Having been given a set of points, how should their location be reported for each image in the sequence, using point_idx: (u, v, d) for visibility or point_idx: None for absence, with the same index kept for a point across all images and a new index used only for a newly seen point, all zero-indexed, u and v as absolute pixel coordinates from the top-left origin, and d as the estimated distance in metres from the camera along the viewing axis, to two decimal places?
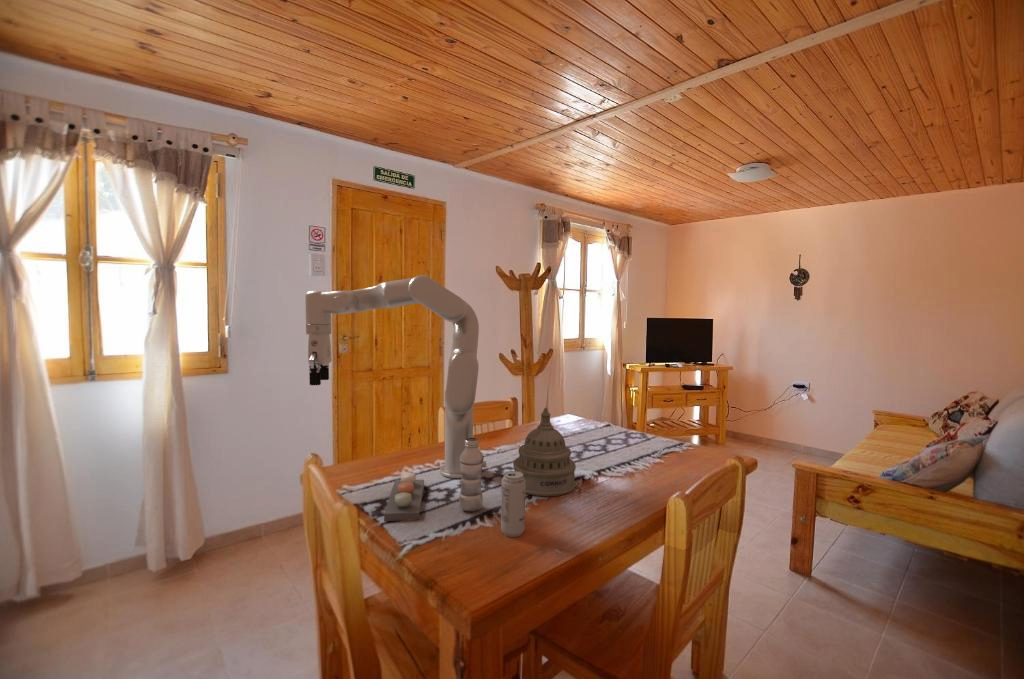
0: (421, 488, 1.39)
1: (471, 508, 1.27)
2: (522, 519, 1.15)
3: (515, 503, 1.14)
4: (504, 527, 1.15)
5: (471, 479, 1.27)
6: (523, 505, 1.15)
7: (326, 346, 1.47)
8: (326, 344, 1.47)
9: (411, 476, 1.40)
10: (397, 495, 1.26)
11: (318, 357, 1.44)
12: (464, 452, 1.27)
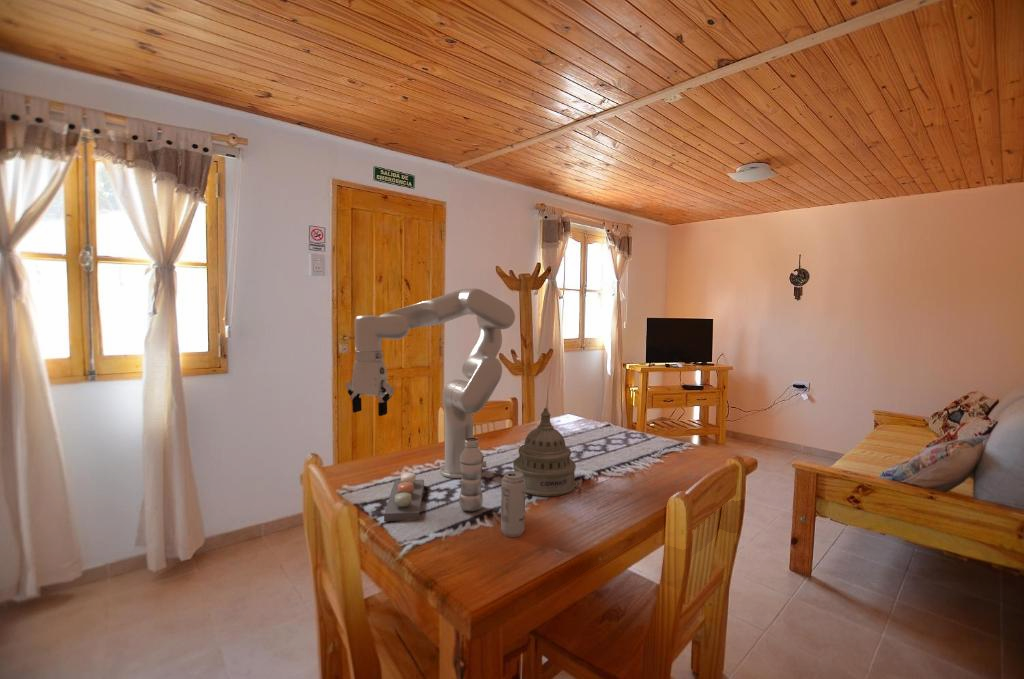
0: (421, 488, 1.39)
1: (471, 508, 1.27)
2: (522, 519, 1.15)
3: (515, 503, 1.14)
4: (504, 527, 1.15)
5: (471, 479, 1.27)
6: (523, 505, 1.15)
7: None
8: None
9: (411, 476, 1.40)
10: (397, 495, 1.26)
11: None
12: (464, 452, 1.27)
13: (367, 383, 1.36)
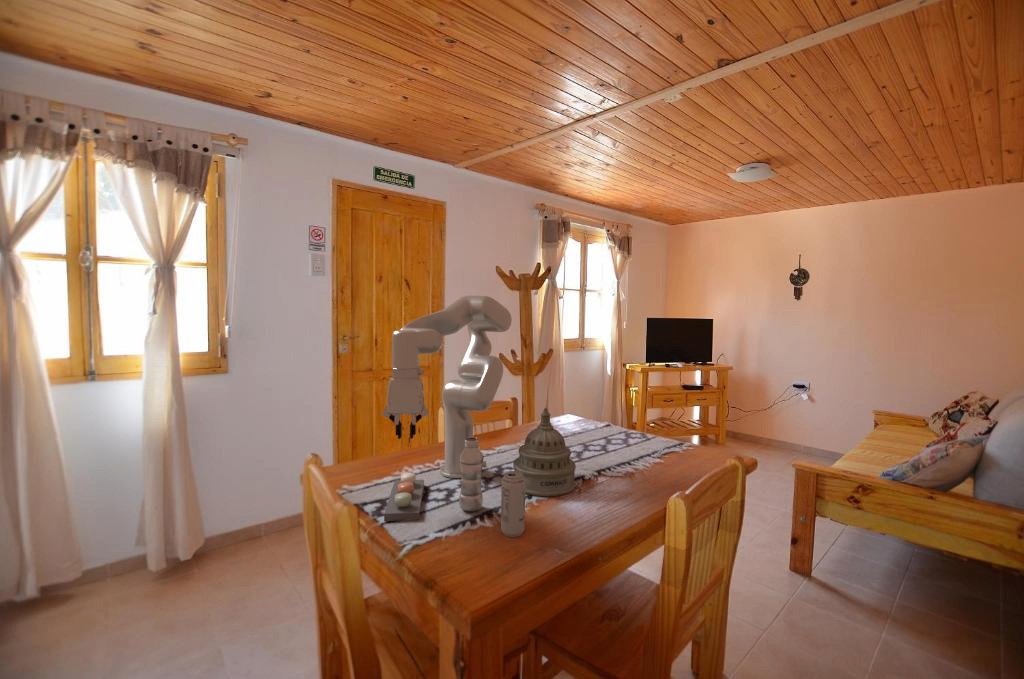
0: (421, 488, 1.39)
1: (471, 508, 1.27)
2: (522, 519, 1.15)
3: (515, 503, 1.14)
4: (504, 527, 1.15)
5: (471, 479, 1.27)
6: (523, 505, 1.15)
7: None
8: None
9: (411, 476, 1.40)
10: (397, 495, 1.26)
11: None
12: (464, 452, 1.27)
13: (410, 401, 1.29)
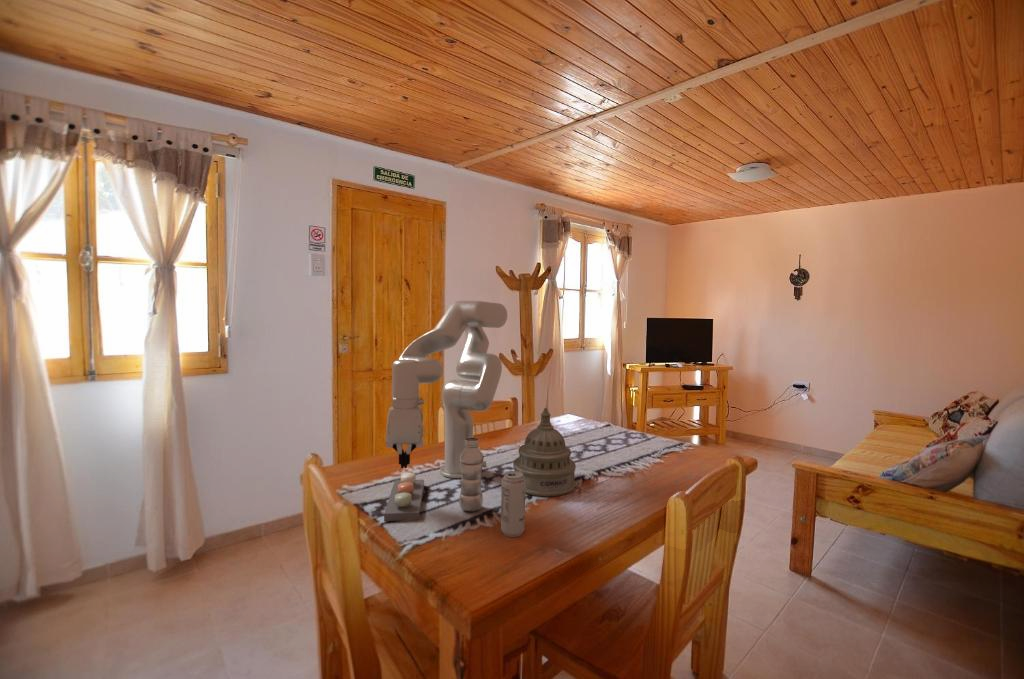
0: (421, 488, 1.39)
1: (471, 508, 1.27)
2: (522, 519, 1.15)
3: (515, 503, 1.14)
4: (504, 527, 1.15)
5: (471, 479, 1.27)
6: (523, 505, 1.15)
7: None
8: None
9: (411, 476, 1.40)
10: (397, 495, 1.26)
11: None
12: (464, 452, 1.27)
13: (409, 431, 1.30)
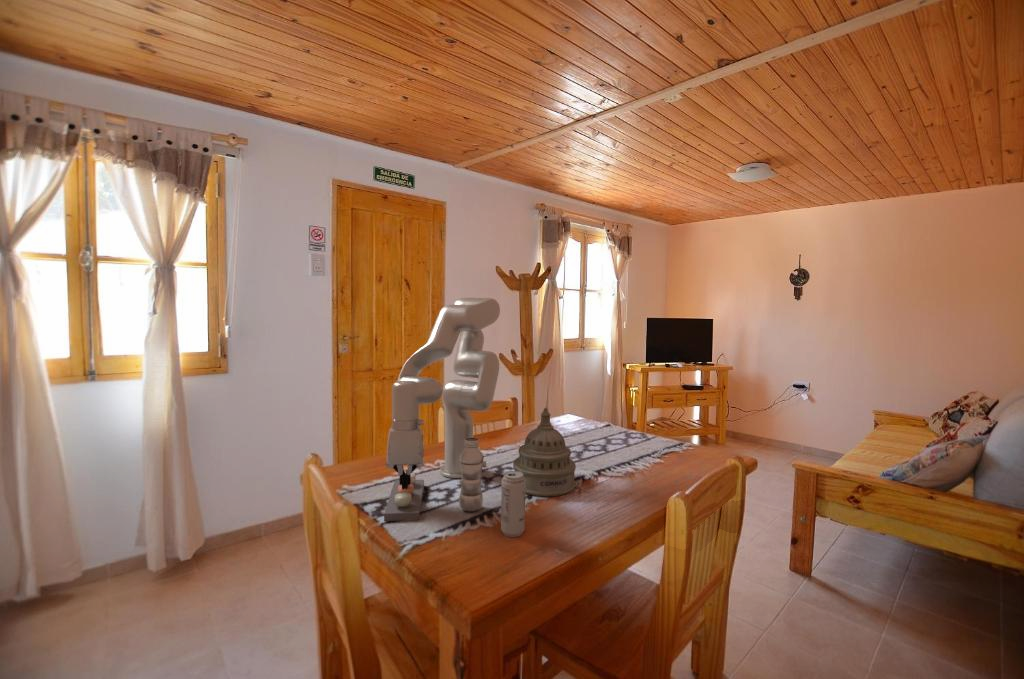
0: (421, 488, 1.39)
1: (471, 508, 1.27)
2: (522, 519, 1.15)
3: (515, 503, 1.14)
4: (504, 527, 1.15)
5: (471, 479, 1.27)
6: (523, 505, 1.15)
7: None
8: None
9: (411, 476, 1.40)
10: (397, 495, 1.26)
11: (423, 451, 1.34)
12: (464, 452, 1.27)
13: (410, 452, 1.30)
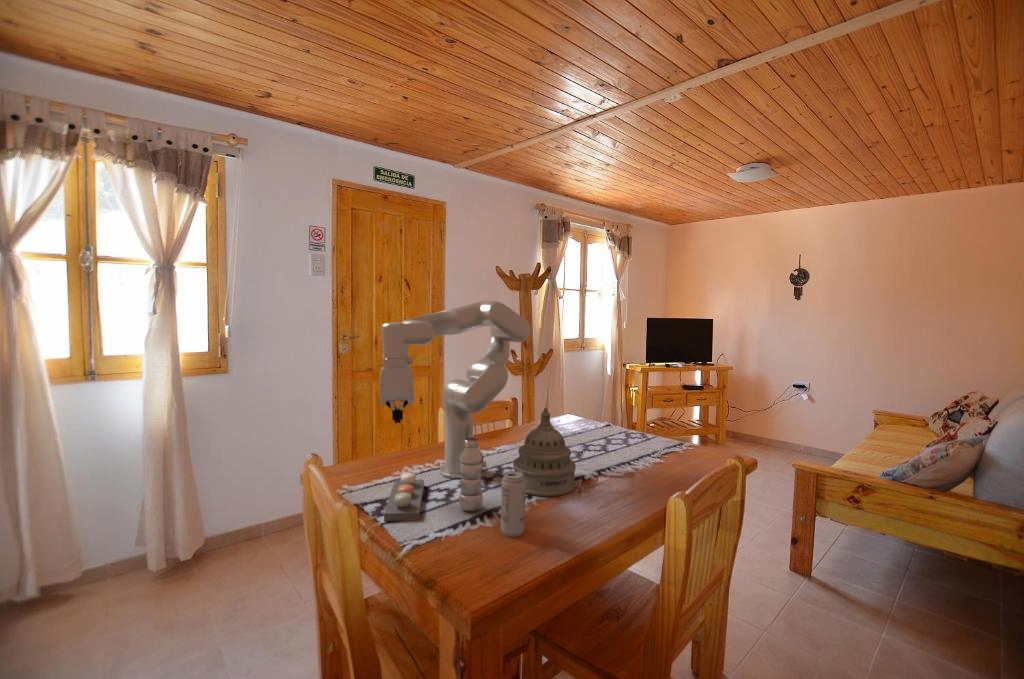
0: (421, 488, 1.39)
1: (471, 508, 1.27)
2: (522, 519, 1.15)
3: (515, 503, 1.14)
4: (504, 527, 1.15)
5: (471, 479, 1.27)
6: (523, 505, 1.15)
7: None
8: None
9: (411, 476, 1.40)
10: (397, 495, 1.26)
11: (413, 388, 1.43)
12: (464, 452, 1.27)
13: (401, 388, 1.39)
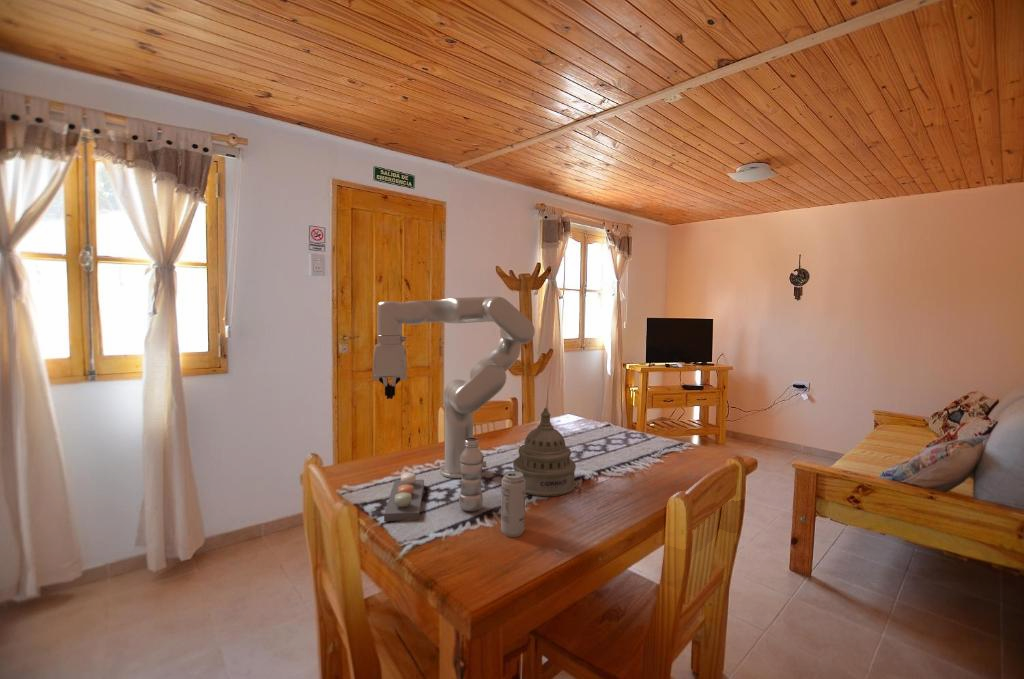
0: (421, 488, 1.39)
1: (471, 508, 1.27)
2: (522, 519, 1.15)
3: (515, 503, 1.14)
4: (504, 527, 1.15)
5: (471, 479, 1.27)
6: (523, 505, 1.15)
7: None
8: None
9: (411, 476, 1.40)
10: (397, 495, 1.26)
11: (406, 366, 1.48)
12: (464, 452, 1.27)
13: (393, 365, 1.44)
